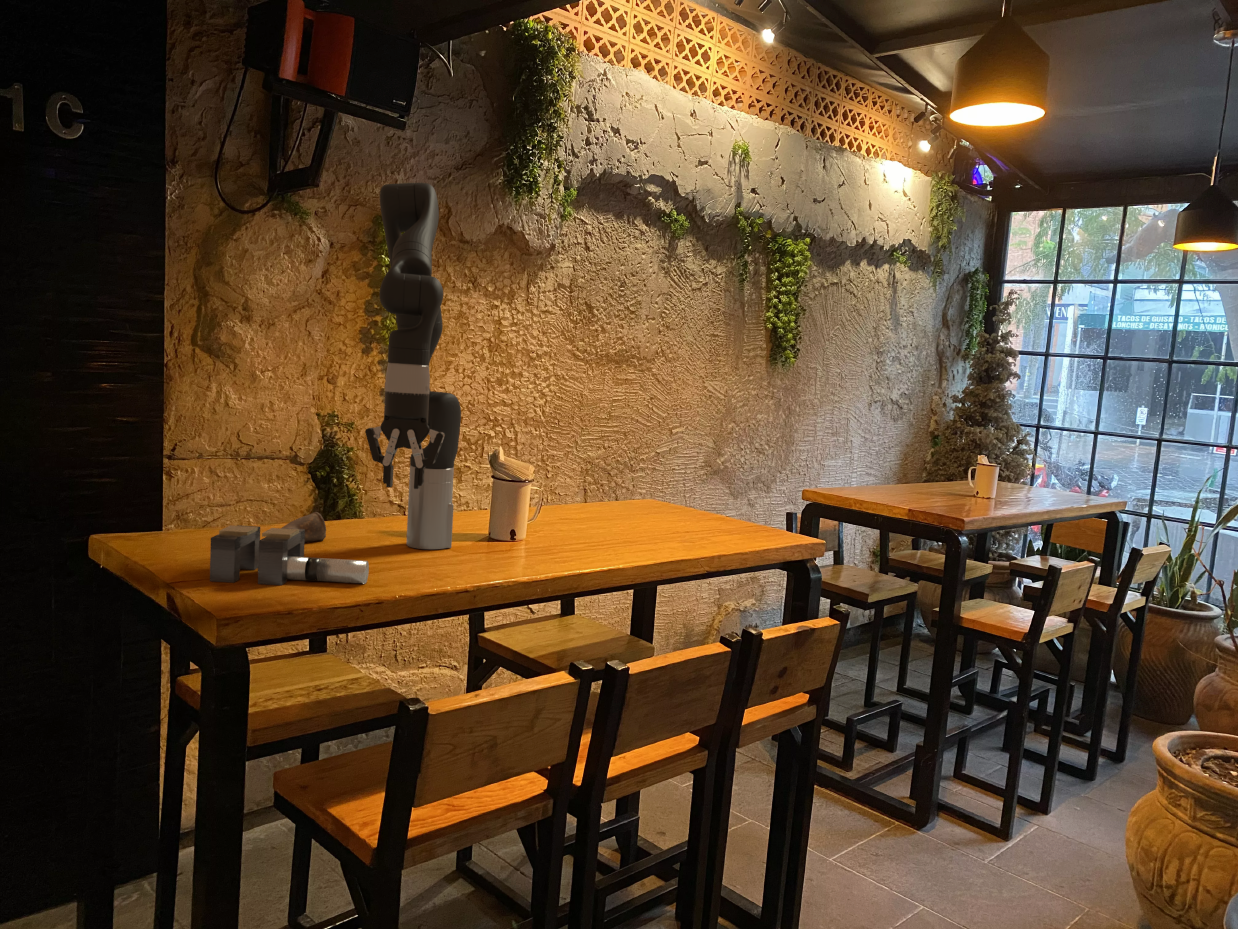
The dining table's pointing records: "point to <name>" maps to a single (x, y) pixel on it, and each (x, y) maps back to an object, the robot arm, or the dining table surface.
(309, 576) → the tube
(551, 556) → the dining table surface
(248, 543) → the grey u-shaped stands
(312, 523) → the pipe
